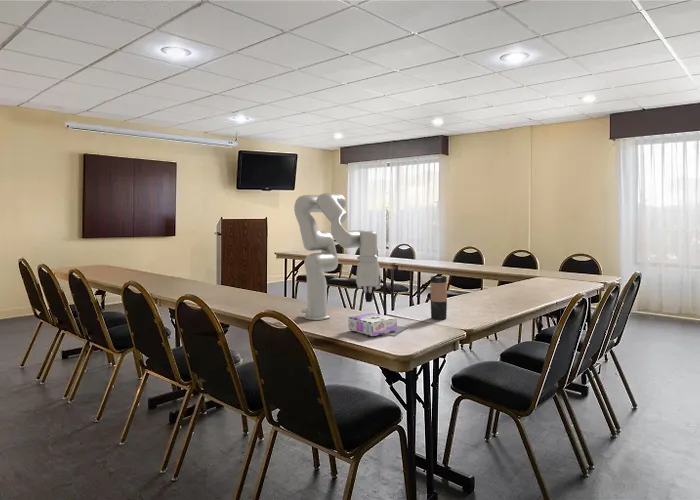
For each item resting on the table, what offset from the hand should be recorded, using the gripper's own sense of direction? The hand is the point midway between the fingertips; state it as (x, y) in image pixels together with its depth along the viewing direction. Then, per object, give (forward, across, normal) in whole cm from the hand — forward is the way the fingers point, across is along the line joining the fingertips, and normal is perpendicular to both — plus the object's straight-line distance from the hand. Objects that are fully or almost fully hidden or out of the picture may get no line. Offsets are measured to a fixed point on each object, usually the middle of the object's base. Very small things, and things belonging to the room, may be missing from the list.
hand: (369, 301), depth 218 cm
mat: (+12, +6, 0) cm, 14 cm away
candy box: (+9, -4, -1) cm, 10 cm away
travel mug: (+12, +22, +32) cm, 41 cm away
